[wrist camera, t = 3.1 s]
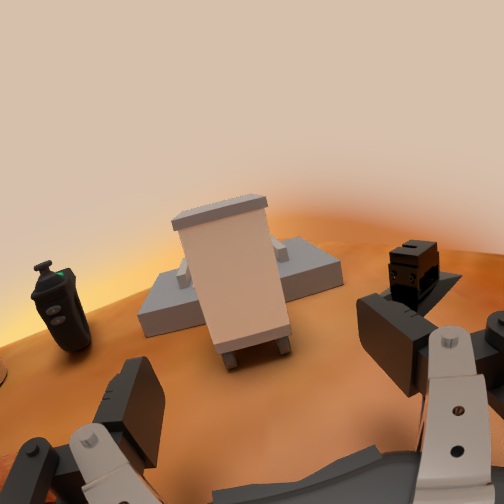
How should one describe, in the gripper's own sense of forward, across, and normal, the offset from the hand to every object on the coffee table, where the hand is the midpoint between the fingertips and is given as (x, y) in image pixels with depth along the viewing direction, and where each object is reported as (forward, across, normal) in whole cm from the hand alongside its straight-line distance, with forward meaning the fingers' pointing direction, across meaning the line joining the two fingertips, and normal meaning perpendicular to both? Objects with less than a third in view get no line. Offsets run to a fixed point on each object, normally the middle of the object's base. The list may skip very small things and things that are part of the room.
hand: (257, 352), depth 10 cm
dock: (+24, 0, +6) cm, 24 cm away
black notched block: (+10, -15, +7) cm, 19 cm away
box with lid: (+10, 0, +6) cm, 12 cm away
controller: (+18, +19, +6) cm, 27 cm away
